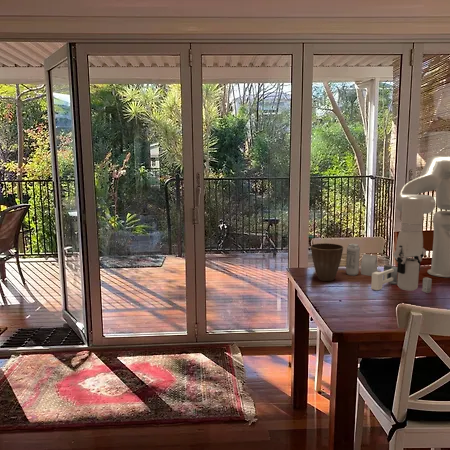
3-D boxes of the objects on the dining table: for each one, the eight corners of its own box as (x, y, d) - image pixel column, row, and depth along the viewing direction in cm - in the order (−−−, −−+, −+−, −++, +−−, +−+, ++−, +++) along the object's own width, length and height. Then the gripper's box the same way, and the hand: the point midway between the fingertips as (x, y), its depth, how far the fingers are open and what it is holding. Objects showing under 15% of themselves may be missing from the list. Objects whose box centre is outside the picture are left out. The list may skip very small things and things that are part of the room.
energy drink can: (361, 274, 212) (362, 245, 210) (352, 276, 209) (353, 246, 207) (351, 272, 218) (353, 243, 215) (343, 273, 215) (344, 244, 212)
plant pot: (307, 281, 201) (308, 248, 198) (312, 273, 215) (313, 242, 212) (340, 284, 196) (342, 250, 194) (342, 276, 210) (344, 244, 208)
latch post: (426, 290, 187) (427, 277, 186) (430, 292, 185) (431, 278, 184) (422, 291, 186) (423, 278, 185) (426, 292, 184) (427, 279, 183)
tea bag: (374, 276, 209) (375, 256, 208) (360, 274, 214) (361, 254, 212) (376, 275, 212) (377, 255, 210) (363, 272, 216) (364, 253, 215)
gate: (398, 282, 198) (399, 267, 197) (377, 290, 187) (378, 274, 186) (392, 281, 200) (393, 266, 199) (371, 288, 189) (371, 273, 188)
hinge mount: (388, 279, 204) (389, 264, 203) (400, 283, 197) (401, 267, 196) (381, 280, 202) (382, 265, 201) (393, 285, 196) (394, 269, 194)
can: (419, 291, 167) (421, 261, 165) (399, 290, 168) (401, 260, 166) (415, 286, 174) (417, 257, 172) (395, 285, 176) (397, 256, 174)
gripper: (419, 225, 174) (416, 267, 177) (387, 228, 167) (384, 272, 170) (435, 227, 168) (432, 271, 170) (402, 231, 160) (399, 276, 163)
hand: (408, 271), depth 170 cm, fingers closed on can, 7 cm apart
